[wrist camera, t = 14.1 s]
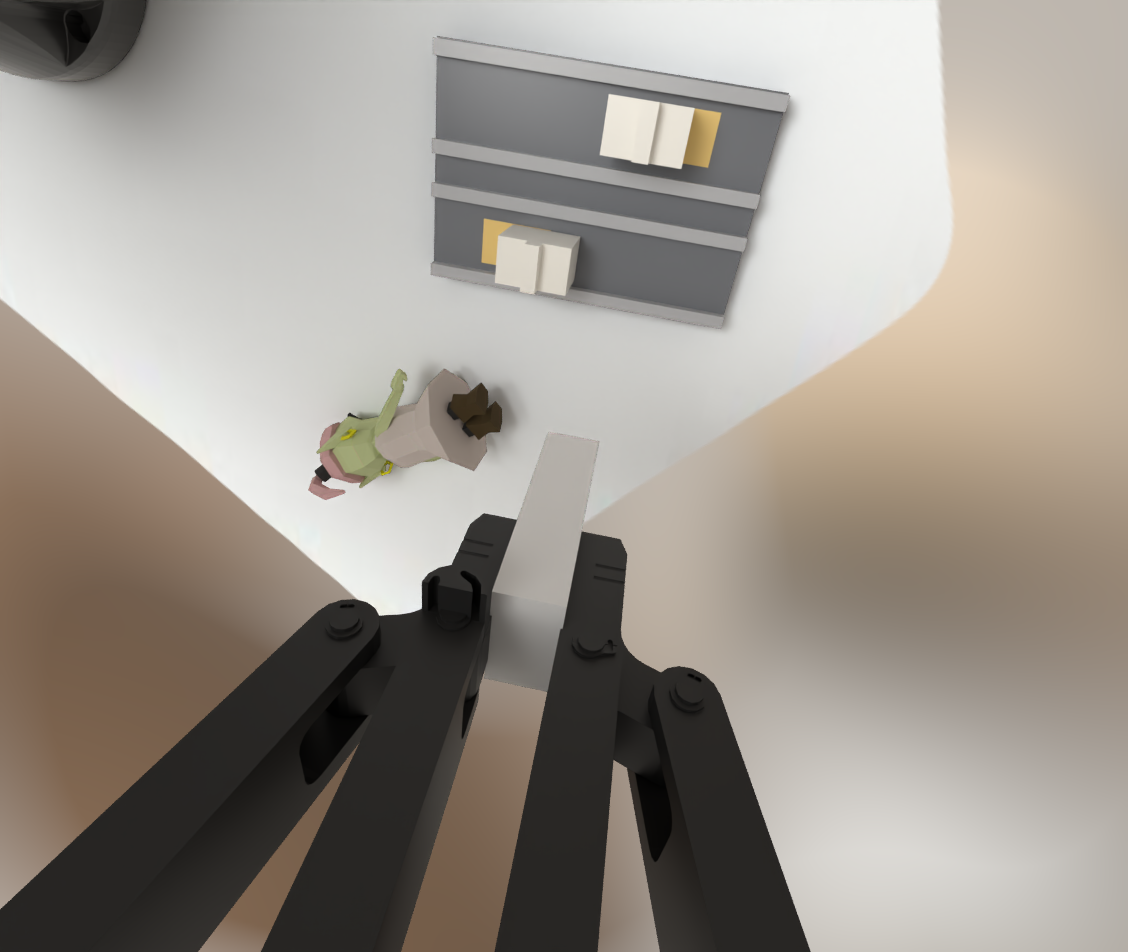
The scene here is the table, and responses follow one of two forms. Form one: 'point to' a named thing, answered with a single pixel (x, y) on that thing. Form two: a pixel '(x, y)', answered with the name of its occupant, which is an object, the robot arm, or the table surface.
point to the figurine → (409, 433)
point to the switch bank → (596, 177)
